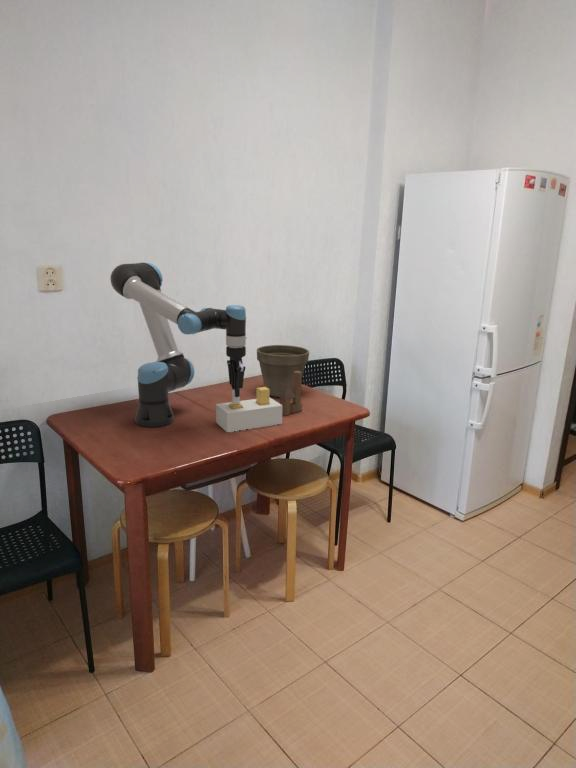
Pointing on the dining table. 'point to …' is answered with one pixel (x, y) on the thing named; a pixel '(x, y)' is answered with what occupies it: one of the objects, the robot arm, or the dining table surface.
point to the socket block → (248, 415)
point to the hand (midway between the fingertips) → (236, 403)
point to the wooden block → (291, 395)
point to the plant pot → (280, 365)
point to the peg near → (235, 406)
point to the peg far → (262, 396)
